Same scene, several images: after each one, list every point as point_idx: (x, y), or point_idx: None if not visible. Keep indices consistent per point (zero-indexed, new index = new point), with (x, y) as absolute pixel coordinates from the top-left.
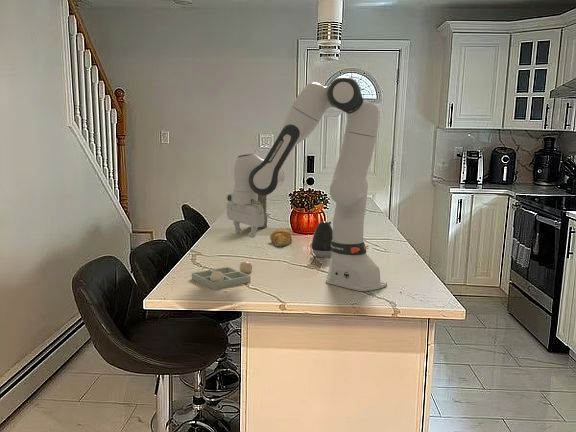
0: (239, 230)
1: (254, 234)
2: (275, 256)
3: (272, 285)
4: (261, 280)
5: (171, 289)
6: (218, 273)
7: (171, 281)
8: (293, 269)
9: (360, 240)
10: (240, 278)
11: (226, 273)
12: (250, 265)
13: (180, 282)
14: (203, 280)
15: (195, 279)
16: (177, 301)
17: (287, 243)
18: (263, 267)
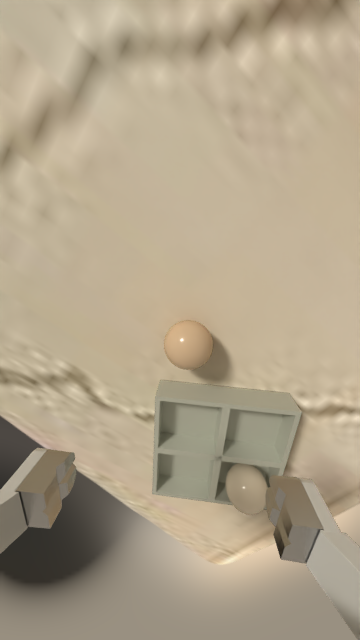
0: (59, 486)
1: (326, 518)
2: (12, 12)
3: (355, 354)
4: (286, 345)
5: (184, 521)
6: (262, 508)
7: (130, 495)
8: (271, 127)
9: None
10: (291, 441)
11: (221, 442)
12: (210, 344)
13: (149, 488)
14: (219, 497)
15: (175, 483)
16: (262, 548)
17: None
18: (157, 226)
